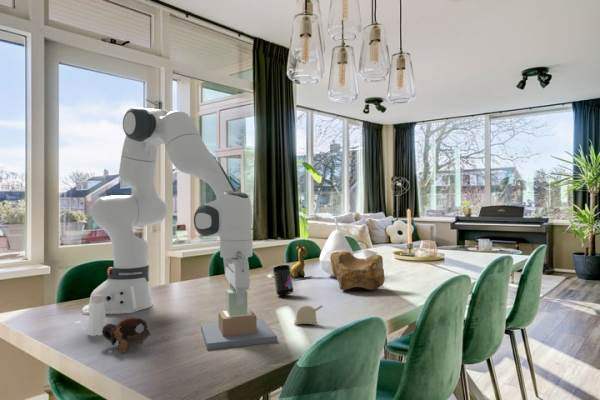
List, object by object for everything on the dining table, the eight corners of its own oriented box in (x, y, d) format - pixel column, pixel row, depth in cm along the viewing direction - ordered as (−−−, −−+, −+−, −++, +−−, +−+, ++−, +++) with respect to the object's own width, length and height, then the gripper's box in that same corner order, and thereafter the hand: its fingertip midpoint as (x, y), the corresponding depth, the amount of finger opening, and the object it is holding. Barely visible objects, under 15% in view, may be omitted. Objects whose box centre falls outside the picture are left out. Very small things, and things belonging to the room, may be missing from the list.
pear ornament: (314, 278, 202) (313, 219, 202) (332, 271, 222) (332, 217, 223) (347, 281, 195) (346, 219, 195) (363, 273, 215) (362, 217, 215)
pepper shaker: (83, 334, 121) (83, 294, 121) (103, 330, 125) (103, 291, 125) (90, 338, 117) (90, 297, 117) (111, 334, 121) (110, 294, 121)
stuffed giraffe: (320, 278, 205) (319, 245, 205) (288, 283, 195) (288, 247, 195) (300, 274, 218) (300, 242, 218) (270, 278, 208) (269, 245, 208)
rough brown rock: (319, 291, 175) (318, 254, 175) (334, 284, 190) (333, 250, 190) (375, 296, 165) (374, 257, 165) (386, 288, 180) (386, 252, 180)
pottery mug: (153, 340, 115) (155, 317, 112) (141, 368, 107) (143, 344, 103) (107, 332, 114) (108, 308, 111) (91, 359, 106) (92, 335, 102)
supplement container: (284, 291, 161) (280, 264, 165) (272, 295, 165) (269, 269, 169) (297, 291, 166) (293, 265, 170) (285, 296, 170) (281, 270, 174)
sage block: (229, 315, 116) (228, 293, 116) (226, 311, 120) (226, 289, 120) (247, 314, 117) (247, 291, 117) (244, 309, 122) (244, 288, 122)
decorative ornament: (294, 320, 131) (295, 303, 131) (322, 321, 131) (322, 304, 131) (293, 324, 127) (294, 306, 127) (322, 325, 127) (322, 307, 127)
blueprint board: (207, 349, 107) (206, 324, 107) (201, 329, 125) (200, 307, 125) (277, 341, 113) (276, 318, 113) (262, 323, 130) (261, 302, 130)
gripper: (255, 253, 110) (255, 308, 110) (241, 245, 129) (241, 292, 129) (230, 255, 108) (230, 310, 108) (220, 246, 127) (220, 293, 127)
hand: (236, 300), depth 119 cm, fingers open, 8 cm apart
